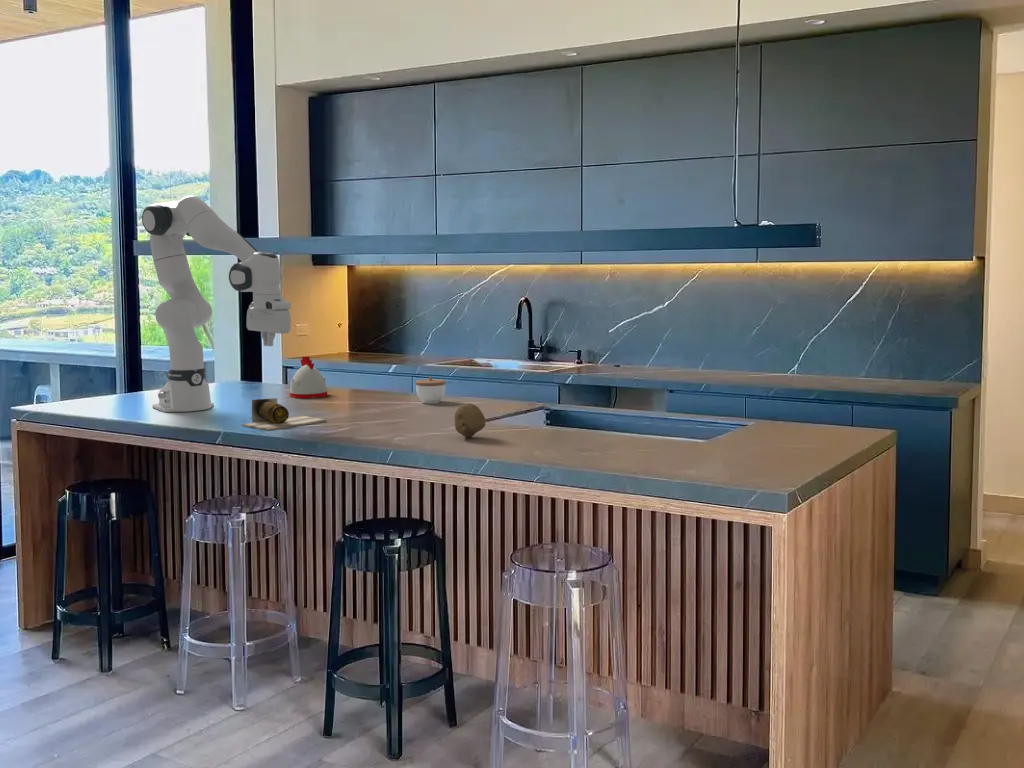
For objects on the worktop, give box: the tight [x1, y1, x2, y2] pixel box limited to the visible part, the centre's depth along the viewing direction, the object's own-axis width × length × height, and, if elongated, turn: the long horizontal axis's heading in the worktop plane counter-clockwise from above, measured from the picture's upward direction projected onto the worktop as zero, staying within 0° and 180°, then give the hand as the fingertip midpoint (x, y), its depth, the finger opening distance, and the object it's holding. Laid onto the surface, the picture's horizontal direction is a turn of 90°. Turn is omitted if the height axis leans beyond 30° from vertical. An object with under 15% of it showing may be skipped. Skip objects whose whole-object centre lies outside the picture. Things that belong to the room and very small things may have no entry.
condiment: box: [251, 397, 290, 423], centre depth 330 cm, size 7×8×12 cm
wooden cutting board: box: [242, 415, 327, 431], centre depth 331 cm, size 14×22×1 cm, turn 137°
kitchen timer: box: [289, 356, 328, 399], centre depth 395 cm, size 14×14×15 cm
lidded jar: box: [415, 376, 447, 405], centre depth 373 cm, size 11×11×9 cm
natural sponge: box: [454, 403, 487, 439], centre depth 302 cm, size 9×9×10 cm
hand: (268, 346), depth 336 cm, fingers closed
